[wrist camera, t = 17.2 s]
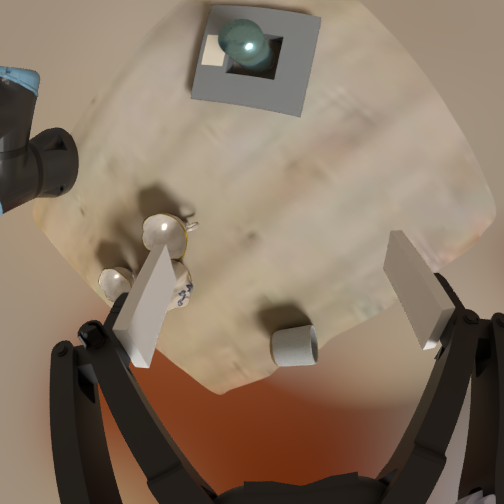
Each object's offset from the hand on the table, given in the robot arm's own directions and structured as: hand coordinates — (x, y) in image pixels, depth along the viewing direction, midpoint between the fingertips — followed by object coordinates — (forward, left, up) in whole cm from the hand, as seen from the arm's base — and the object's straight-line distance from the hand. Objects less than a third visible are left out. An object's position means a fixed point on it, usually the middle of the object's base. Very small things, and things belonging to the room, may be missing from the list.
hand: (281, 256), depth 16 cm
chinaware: (-21, -23, -29) cm, 43 cm away
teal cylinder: (-9, +16, -29) cm, 34 cm away
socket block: (-9, +16, -29) cm, 34 cm away
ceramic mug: (+9, -32, -29) cm, 44 cm away
